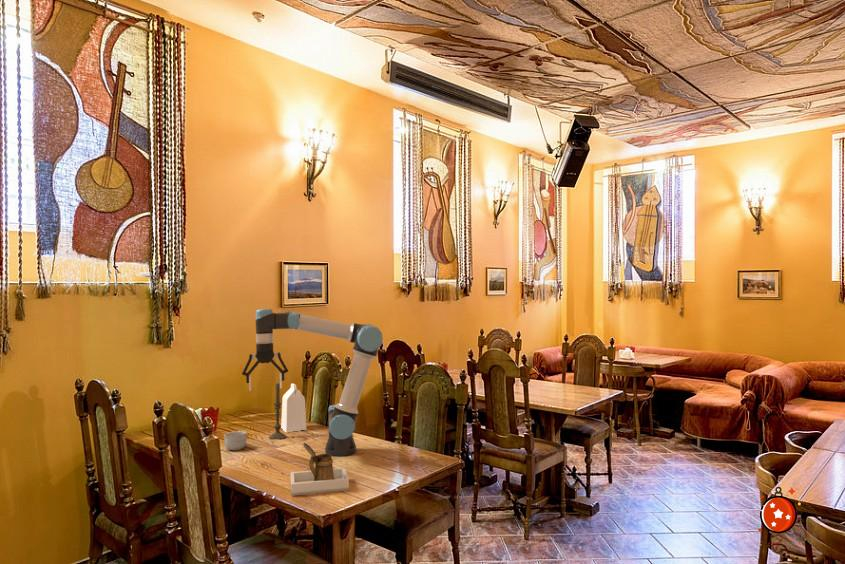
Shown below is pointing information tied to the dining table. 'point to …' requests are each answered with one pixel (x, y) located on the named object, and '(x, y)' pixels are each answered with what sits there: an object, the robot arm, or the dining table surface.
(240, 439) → the teacup
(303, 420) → the milk
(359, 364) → the robot arm
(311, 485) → the tray
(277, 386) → the candlestick holder
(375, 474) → the dining table surface
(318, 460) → the wooden mug
